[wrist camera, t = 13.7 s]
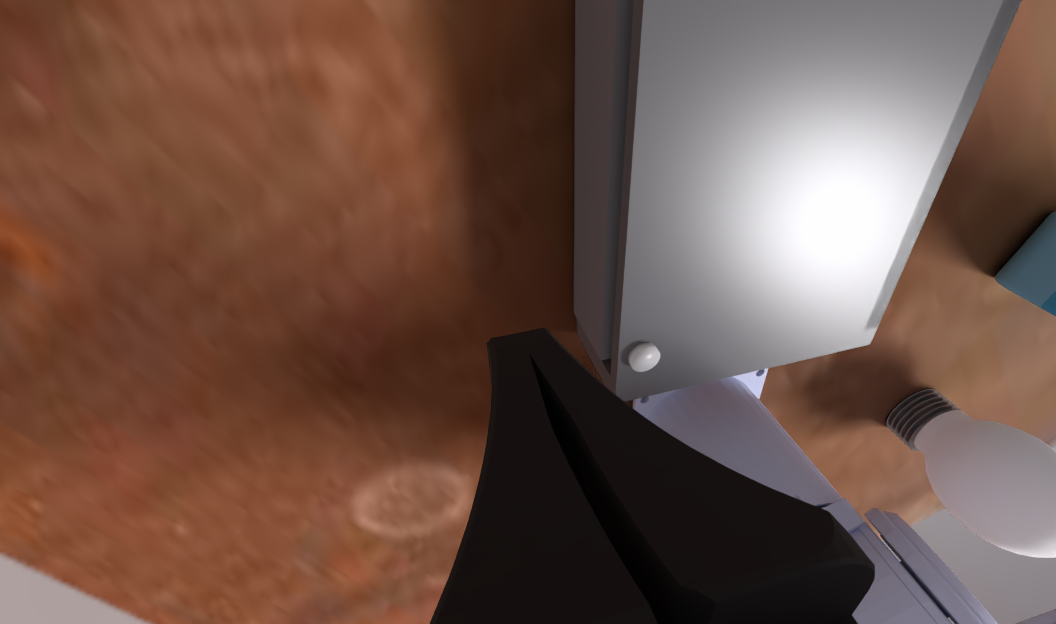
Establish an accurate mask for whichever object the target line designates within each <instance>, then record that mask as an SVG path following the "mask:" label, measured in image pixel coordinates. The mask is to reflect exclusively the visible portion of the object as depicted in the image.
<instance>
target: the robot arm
mask: <svg viewBox="0 0 1056 624" xmlns="http://www.w3.org/2000/svg"><path fill="white" fill-rule="evenodd" d="M487 350H488V358H489V366H490V374H491V383H492V397H491V413H490V421H489V428H488V436H487V443H486V449H485V454H484V460H483V465H482V469H481V474H480V478H479V483H478V487H477V490H476V494H475V498H474V502H473V506H472V509H471V513H470V516H469V520H468V523H467V526H466V529H465V532H464V535H463V538H462V541H461V544H460V547H459V550H458V553H457V556H456V559H455V562H454V565H453V567H452V570H451V573H450V575H449V578H448V581H447V583H446V585H445V588H444V590H443V593H442V595H441V598H440V600H439V602H438V605H437V607H436V610H435V612H434V615H433V617H432V619H431V622H430V624H952V623H951V622H950V621H949V620H948V617H950V618H951V620H952V621H953V622H954V623H955V624H998V623H997V622H996V621H995V620H994V619H993V617H992V616H991V615H990V614H989V613H988V611H987V610H986V609H985V608H984V607H983V606H982V605H981V604H980V602H979V601H978V600H977V599H976V598H975V597H974V595H973V594H972V593H971V592H970V591H969V590H968V589H967V588H966V586H965V585H964V584H963V583H962V582H961V581H960V580H959V579H958V577H957V576H956V575H955V574H954V573H953V572H952V571H951V570H950V569H949V567H947V566H946V564H945V563H944V562H943V561H942V560H941V559H940V558H939V557H938V555H937V554H936V553H935V552H934V551H933V550H932V549H931V548H930V547H929V546H928V545H927V544H926V543H925V542H924V541H923V539H922V538H921V537H920V536H919V535H918V534H917V533H916V532H915V531H914V530H913V529H912V528H911V527H910V526H909V525H908V524H907V523H906V522H905V521H904V520H903V519H902V518H901V517H900V516H899V515H897V514H895V513H891V512H886V511H883V512H882V511H881V510H879V509H878V508H872V509H871V510H869V511H868V512H867V513H866V514H864V515H865V516H866V517H867V518H868V520H869V521H870V522H871V523H872V524H873V526H874V527H875V528H876V529H877V530H878V532H879V533H880V534H881V535H880V536H881V537H882V539H883V540H884V541H885V542H886V543H887V545H888V546H889V547H890V548H891V549H892V551H893V552H894V553H895V554H896V555H897V556H898V558H899V559H900V560H901V562H899V561H898V560H897V559H896V557H895V556H894V555H893V554H892V553H891V551H890V550H889V549H888V548H887V547H886V546H885V544H884V543H883V542H882V541H881V540H880V539H879V537H878V536H877V535H876V534H875V533H874V532H873V530H872V529H871V528H870V527H869V526H868V525H867V523H866V522H865V521H864V520H863V519H862V517H861V516H860V515H859V514H858V513H857V512H856V510H855V509H854V508H853V507H852V506H851V505H850V503H849V502H848V501H847V500H846V499H845V498H842V497H841V496H840V495H839V493H838V492H837V491H836V490H835V489H834V487H833V486H832V485H831V484H830V483H829V482H828V480H827V479H826V478H825V477H824V476H823V474H822V473H821V472H820V471H819V470H818V469H817V467H816V466H815V465H814V464H813V463H812V461H811V460H810V459H809V458H808V457H807V456H806V454H805V453H804V452H803V451H802V450H801V448H800V447H799V446H798V445H797V444H796V443H795V441H794V440H793V439H792V438H791V437H790V436H789V434H788V433H787V432H786V431H785V430H784V428H783V427H782V426H781V425H780V424H779V423H778V421H777V420H776V419H775V418H774V417H773V415H772V414H771V413H770V412H769V411H768V410H767V408H766V407H765V406H764V405H763V404H762V402H761V401H760V400H759V398H760V394H761V391H762V388H763V384H764V381H765V378H766V374H767V371H768V368H767V369H763V370H758V371H754V372H750V373H746V374H741V375H737V376H733V377H728V378H724V379H720V380H716V381H711V382H707V383H703V384H698V385H694V386H690V387H686V388H681V389H677V390H673V391H668V392H664V393H660V394H656V395H651V396H647V397H643V398H638V399H634V400H633V408H632V407H631V406H629V405H628V404H627V403H626V402H624V401H623V400H622V399H621V398H619V397H618V396H617V395H616V394H614V393H613V392H612V391H611V390H610V389H608V388H607V387H606V386H605V385H604V384H603V383H601V382H600V381H599V380H598V379H597V378H596V377H595V376H594V375H592V374H591V373H590V372H589V371H588V370H587V369H586V368H585V367H584V366H583V365H581V364H580V363H579V362H578V361H577V360H576V359H575V358H574V357H573V356H572V355H571V354H570V353H569V352H568V351H567V350H566V349H565V348H564V347H563V346H562V345H561V344H560V343H559V342H558V341H557V340H556V338H555V337H554V336H553V335H552V334H551V333H550V332H549V331H548V330H546V329H545V328H541V329H536V330H531V331H526V332H521V333H516V334H511V335H506V336H501V337H496V338H491V339H490V340H489V342H488V343H487ZM1016 624H1056V609H1055V610H1052V611H1049V612H1046V613H1044V614H1041V615H1038V616H1035V617H1032V618H1030V619H1027V620H1024V621H1022V622H1019V623H1016Z"/></svg>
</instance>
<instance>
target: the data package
mask: <svg viewBox="0 0 1056 624" xmlns="http://www.w3.org/2000/svg"><path fill="white" fill-rule="evenodd" d="M995 280H996V281H997V282H998V283H999V284H1000V285H1002V286H1003V287H1005V288H1007V289H1008V290H1010V291H1012V292H1013V293H1015V294H1017V295H1019V296H1021V297H1022V298H1024V299H1026V300H1028V301H1030V302H1031V303H1033V304H1035V305H1037V306H1038V307H1040V308H1042V309H1044V310H1046V311H1047V312H1049V313H1051V314H1053V315H1055V316H1056V211H1054V212H1052V213H1051V214H1050V215H1049V216H1048V217H1047V218H1046V219H1045V220H1044V221H1043V223H1042V224H1041V225H1040V226H1039V227H1038V228H1037V229H1036V231H1035V232H1034V233H1033V234H1032V235H1031V236H1030V237H1029V238H1028V240H1027V241H1026V242H1025V243H1024V244H1023V245H1022V246H1021V247H1020V249H1019V250H1018V251H1017V252H1016V253H1015V254H1014V255H1013V256H1012V258H1011V259H1010V260H1009V261H1008V262H1007V263H1006V264H1005V265H1004V267H1003V268H1002V269H1001V270H1000V271H999V272H998V273H997V275H996V276H995Z"/></svg>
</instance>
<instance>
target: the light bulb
mask: <svg viewBox="0 0 1056 624" xmlns="http://www.w3.org/2000/svg"><path fill="white" fill-rule="evenodd" d="M886 425H887V427H888V428H889V429H891V431H892V432H893V433H895V434H896V436H897V437H899V438H900V440H902V441H903V442H904V443H905V444H906V445H907V446H909V448H910V449H911V450H914V451H920V452H921V453H922V454H923V455H925V469H926V473H927V477H928V480H929V482H930V484H931V486H932V489H933V491H934V492H935V494H936V495H937V497H938V498H939V500H940V501H941V503H942V504H943V506H944V507H945V508H946V509H947V510H948V511H949V512H950V513H951V515H952V516H953V517H954V518H956V519H957V520H958V521H959V522H960V523H961V524H962V525H964V526H965V527H966V528H968V529H969V530H970V531H972V532H973V533H975V534H976V535H978V536H979V537H981V538H982V539H984V540H986V541H988V542H990V543H992V544H994V545H996V546H998V547H1000V548H1003V549H1005V550H1008V551H1011V552H1014V553H1017V554H1021V555H1026V556H1031V557H1043V558H1054V557H1056V451H1055V450H1054V449H1053V448H1052V447H1050V446H1049V445H1047V444H1046V443H1044V442H1043V441H1041V440H1040V439H1038V438H1037V437H1034V436H1032V435H1030V434H1028V433H1026V432H1024V431H1022V430H1020V429H1017V428H1014V427H1011V426H1008V425H1005V424H1002V423H998V422H993V421H988V420H974V419H972V418H971V417H970V416H969V415H967V414H966V413H965V412H964V411H962V410H961V409H958V408H957V406H956V405H953V404H952V402H951V401H948V400H947V398H946V397H943V395H942V394H941V393H938V392H937V390H935V389H925V390H922V391H919V392H917V393H915V394H913V395H911V396H909V397H908V398H906V399H905V400H903V401H902V402H901V403H900V404H898V405H897V406H896V407H895V408H894V410H893V411H892V412H891V413H890V415H889V417H888V419H887V422H886Z"/></svg>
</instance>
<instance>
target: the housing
mask: <svg viewBox="0 0 1056 624" xmlns="http://www.w3.org/2000/svg"><path fill="white" fill-rule="evenodd" d="M1021 1H1022V0H634V3H633V19H632V35H631V51H630V67H629V84H628V100H627V116H626V132H625V148H624V165H623V181H622V197H621V213H620V229H619V246H618V262H617V278H616V294H615V310H614V327H613V343H612V358H610V359H606V360H601V361H600V359H599V357H598V355H597V353H596V352H595V350H594V348H593V346H592V344H591V343H590V341H589V339H588V337H587V336H586V334H585V332H584V330H583V328H582V327H581V325H580V323H579V321H578V319H577V335H578V337H579V339H580V340H581V342H582V344H583V346H584V348H585V350H586V352H587V353H588V355H589V357H590V359H591V361H592V363H593V364H594V366H595V368H596V370H597V372H598V374H599V376H600V377H601V379H602V381H603V383H604V385H605V386H606V387H607V388H608V389H610V390H611V391H612V392H613V393H614V394H616V395H617V396H618V397H619V398H621V399H622V400H623V401H624V402H626V401H630V400H634V399H638V398H643V397H647V396H651V395H656V394H660V393H664V392H668V391H673V390H677V389H681V388H686V387H690V386H694V385H698V384H703V383H707V382H711V381H716V380H720V379H724V378H728V377H733V376H737V375H741V374H746V373H750V372H754V371H758V370H763V369H767V368H771V367H775V366H780V365H784V364H788V363H793V362H797V361H801V360H805V359H810V358H814V357H818V356H823V355H827V354H831V353H835V352H840V351H844V350H848V349H853V348H857V347H861V346H865V345H870V343H871V341H872V339H873V337H874V334H875V332H876V330H877V327H878V325H879V323H880V321H881V318H882V316H883V314H884V312H885V309H886V307H887V305H888V302H889V300H890V298H891V296H892V293H893V291H894V289H895V287H896V284H897V282H898V280H899V278H900V275H901V273H902V271H903V268H904V266H905V264H906V262H907V259H908V257H909V255H910V253H911V250H912V248H913V246H914V243H915V241H916V239H917V237H918V234H919V232H920V230H921V228H922V225H923V223H924V221H925V219H926V216H927V214H928V212H929V209H930V207H931V205H932V203H933V200H934V198H935V196H936V194H937V191H938V189H939V187H940V184H941V182H942V180H943V178H944V175H945V173H946V171H947V169H948V166H949V164H950V162H951V159H952V157H953V155H954V153H955V150H956V148H957V146H958V144H959V141H960V139H961V137H962V135H963V132H964V130H965V128H966V125H967V123H968V121H969V119H970V116H971V114H972V112H973V110H974V107H975V105H976V103H977V100H978V98H979V96H980V94H981V91H982V89H983V87H984V85H985V82H986V80H987V78H988V76H989V73H990V71H991V69H992V66H993V64H994V62H995V60H996V57H997V55H998V53H999V51H1000V48H1001V46H1002V44H1003V41H1004V39H1005V37H1006V35H1007V32H1008V30H1009V28H1010V26H1011V23H1012V21H1013V19H1014V16H1015V14H1016V12H1017V10H1018V7H1019V5H1020V3H1021Z"/></svg>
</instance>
